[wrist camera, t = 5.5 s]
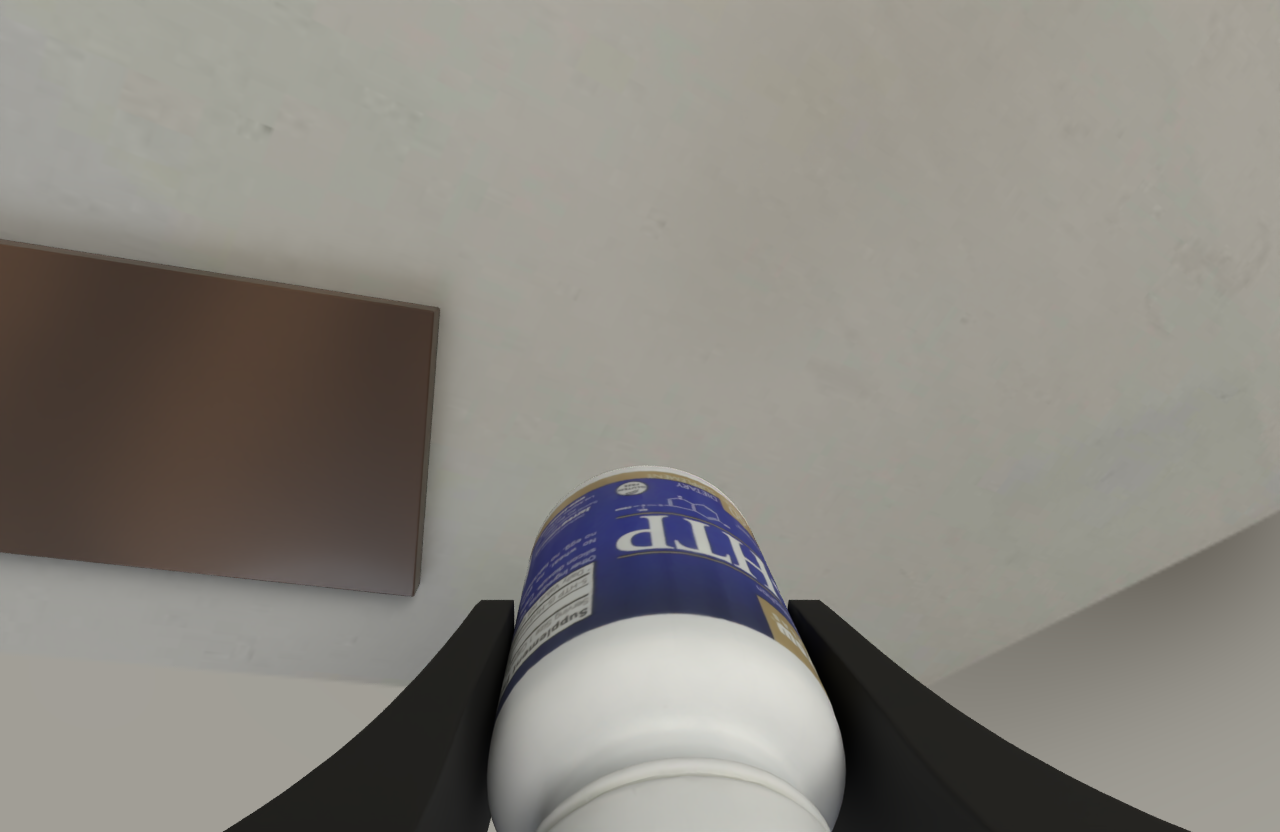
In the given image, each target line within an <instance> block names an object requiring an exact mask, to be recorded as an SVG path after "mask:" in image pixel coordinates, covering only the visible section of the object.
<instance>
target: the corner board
mask: <svg viewBox="0 0 1280 832" xmlns="http://www.w3.org/2000/svg"><path fill="white" fill-rule="evenodd" d="M439 316H440V308H438V307H432V306H426V305H419V304H413V303H406V302H400V301H394V300H387V299H381V298H374V297H368V296H362V295H355V294H349V293H342V292H336V291H329V290H323V289H317V288H310V287H304V286H297V285H291V284H285V283H278V282H272V281H265V280H259V279H253V278H246V277H240V276H233V275H227V274H220V273H214V272H208V271H201V270H195V269H188V268H182V267H176V266H169V265H163V264H156V263H150V262H144V261H137V260H131V259H124V258H118V257H111V256H105V255H99V254H92V253H86V252H79V251H73V250H67V249H60V248H54V247H47V246H41V245H35V244H28V243H22V242H15V241H9V240H2V239H0V552H2V553H11V554H21V555H30V556H39V557H48V558H58V559H67V560H76V561H86V562H95V563H104V564H114V565H123V566H132V567H141V568H151V569H160V570H169V571H179V572H188V573H197V574H207V575H216V576H225V577H234V578H244V579H253V580H262V581H272V582H281V583H290V584H300V585H309V586H318V587H327V588H337V589H346V590H355V591H365V592H374V593H383V594H393V595H402V596H411V597H413V596H414V595H415V593H416V591H417V589H418V586H419V584H420V573H421V559H422V546H423V532H424V519H425V505H426V492H427V478H428V465H429V451H430V437H431V424H432V410H433V397H434V383H435V370H436V356H437V343H438V329H439Z"/></svg>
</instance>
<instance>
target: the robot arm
mask: <svg viewBox="0 0 1280 832" xmlns="http://www.w3.org/2000/svg"><path fill="white" fill-rule="evenodd" d="M787 610H788V612H789V614H790V617H791V619H792V621H793V623H794V625H795V627H796V629H797V631H798V633H799V635H800V637H801V640H802V642H803V644H804V646H805V648H806V650H807V653H808V655H809V657H810V659H811V661H812V664H813V665H814V667H815V670H816V672H817V674H818V677H819V679H820V681H821V683H822V685H823V687H824V689H825V691H826V693H827V696H828V698H829V700H830V703H831V705H832V708H833V711H834V714H835V717H836V720H837V723H838V725H839V729H840V732H841V736H842V741H843V747H844V753H845V762H846V780H845V789H844V795H843V801H842V805H841V808H840V812H839V815H838V818H837V821H836V823H835V826H834V828H833V830H832V832H1191V831H1188V830H1186V829H1183V828H1181V827H1178V826H1176V825H1173V824H1171V823H1168V822H1166V821H1163V820H1161V819H1159V818H1156V817H1154V816H1152V815H1149V814H1147V813H1145V812H1143V811H1141V810H1139V809H1136V808H1134V807H1132V806H1130V805H1128V804H1126V803H1123V802H1121V801H1119V800H1117V799H1115V798H1113V797H1111V796H1109V795H1106V794H1104V793H1102V792H1100V791H1098V790H1096V789H1094V788H1092V787H1090V786H1088V785H1086V784H1084V783H1082V782H1080V781H1078V780H1076V779H1074V778H1072V777H1070V776H1068V775H1066V774H1065V773H1063V772H1061V771H1059V770H1057V769H1055V768H1054V767H1052V766H1050V765H1048V764H1046V763H1044V762H1043V761H1041V760H1039V759H1037V758H1035V757H1034V756H1031V755H1030V754H1028V753H1026V752H1024V751H1023V750H1021V749H1019V748H1018V747H1016V746H1014V745H1013V744H1011V743H1009V742H1007V741H1006V740H1004V739H1002V738H1001V737H999V736H998V735H996V734H995V733H993V732H991V731H989V730H988V729H987V728H985V727H984V726H982V725H980V724H979V723H977V722H976V721H974V720H973V719H971V718H969V717H968V716H966V715H965V714H963V713H962V712H960V711H959V710H957V709H956V708H954V707H953V706H952V705H950V704H949V703H947V702H946V701H945V700H943V699H942V698H941V697H939V696H938V695H936V694H935V693H934V692H932V691H931V690H930V689H928V688H927V687H926V686H924V685H923V684H921V683H920V682H919V681H917V680H916V679H915V678H914V677H912V676H911V675H910V674H908V673H907V672H906V671H905V670H903V669H902V668H901V667H899V666H898V665H897V664H896V663H894V662H893V661H892V660H891V659H890V658H888V657H887V656H886V655H885V654H883V653H882V652H881V651H880V650H879V649H877V648H876V647H875V646H874V645H873V644H871V643H870V642H869V641H868V640H867V639H865V638H864V637H863V636H862V635H861V634H860V633H858V632H857V631H856V630H855V629H854V628H853V627H851V626H850V625H849V624H848V623H847V622H845V621H844V620H843V619H842V618H841V617H840V616H838V615H837V614H836V613H835V612H834V611H832V610H831V609H830V608H829V607H828V606H826V605H825V604H824V603H822V602H821V601H820V600H789V602H788V609H787ZM513 634H514V600H481V601H480V602H479V603H478V604H477V605H475V607H474V608H473V609H472V611H471V612H470V613H469V615H468V616H467V617H466V619H465V620H464V621H463V623H462V624H461V625H460V627H459V628H458V629H457V630H456V632H455V633H454V634H453V635H452V636H451V638H450V639H449V640H448V641H447V643H446V644H445V645H444V646H443V647H442V649H441V650H440V651H439V652H438V653H437V654H436V655H435V657H434V658H433V659H432V660H431V661H430V662H429V664H428V665H427V666H426V667H425V668H424V669H423V670H422V672H421V673H420V674H419V675H418V676H417V677H416V678H415V679H414V680H413V681H412V682H411V683H410V684H409V685H408V686H407V687H406V688H405V689H404V690H403V691H402V692H401V693H400V694H399V696H398V697H397V698H396V699H395V700H394V701H393V702H392V703H391V704H390V705H389V706H388V707H387V708H386V709H385V710H384V711H383V712H382V713H380V714H379V715H378V716H377V717H376V718H375V719H374V720H373V721H372V722H371V723H370V724H369V725H368V726H366V727H365V728H364V729H363V730H362V731H361V732H360V733H359V734H357V735H356V736H355V737H354V738H353V739H352V740H351V741H349V742H348V743H347V744H346V745H345V746H344V747H342V748H341V749H340V750H339V751H337V752H336V753H335V754H334V755H332V756H331V757H330V758H329V759H327V760H326V761H325V762H323V763H322V764H321V765H319V766H318V767H317V768H315V769H314V770H313V771H311V772H310V773H309V774H307V775H306V776H305V777H303V778H302V779H301V780H300V781H298V782H297V783H295V784H294V785H293V786H291V787H290V788H289V789H287V790H286V791H284V792H283V793H282V794H280V795H279V796H277V797H276V798H274V799H273V800H271V801H270V802H269V803H267V804H265V805H264V806H262V807H261V808H259V809H258V810H257V811H255V812H253V813H252V814H250V815H249V816H247V817H245V818H244V819H242V820H241V821H239V822H238V823H236V824H234V825H233V826H231V827H230V828H228V829H227V830H225V831H223V832H487V831H488V827H489V823H490V819H491V813H490V808H489V802H488V791H487V767H488V757H489V750H490V743H491V738H492V732H493V727H494V721H495V716H496V712H497V707H498V703H499V697H500V693H501V689H502V684H503V679H504V674H505V669H506V666H507V661H508V656H509V652H510V648H511V643H512V638H513Z"/></svg>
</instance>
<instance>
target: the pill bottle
mask: <svg viewBox="0 0 1280 832" xmlns="http://www.w3.org/2000/svg"><path fill="white" fill-rule="evenodd" d="M845 780H846V762H845V753H844V747H843V741H842V736H841V732H840V729H839V725H838V723H837V720H836V717H835V714H834V711H833V708H832V705H831V703H830V700H829V698H828V696H827V693H826V691H825V689H824V687H823V685H822V683H821V681H820V679H819V677H818V674H817V672H816V670H815V667H814V665H813V664H812V661H811V659H810V657H809V655H808V653H807V650H806V648H805V646H804V644H803V642H802V640H801V637H800V635H799V633H798V631H797V629H796V627H795V625H794V623H793V621H792V619H791V617H790V614H789V612H788V610H787V608H786V606H785V603H784V601H783V599H782V597H781V595H780V593H779V590H778V588H777V586H776V583H775V581H774V579H773V577H772V575H771V573H770V570H769V568H768V566H767V564H766V562H765V560H764V557H763V555H762V553H761V551H760V549H759V546H758V544H757V542H756V540H755V538H754V535H753V533H752V532H751V530H750V528H749V525H748V523H747V522H746V520H745V518H744V517H743V515H742V514H741V512H740V511H739V510H738V508H737V507H736V506H735V505H734V503H733V502H732V501H731V500H730V499H729V498H728V497H727V496H726V495H725V494H723V493H722V492H721V491H720V490H719V489H717V488H716V487H715V486H713V485H712V484H710V483H709V482H707V481H705V480H704V479H702V478H700V477H698V476H695V475H693V474H690V473H687V472H684V471H681V470H678V469H674V468H669V467H661V466H633V467H626V468H621V469H616V470H612V471H609V472H606V473H603V474H600V475H598V476H596V477H594V478H592V479H590V480H588V481H586V482H584V483H582V484H581V485H579V486H578V487H576V488H575V489H573V490H572V491H571V492H570V493H568V494H567V495H566V496H565V497H564V498H563V499H562V500H561V501H560V502H559V503H558V504H557V505H556V506H555V507H554V508H553V510H552V511H551V512H550V513H549V515H548V516H547V518H546V519H545V521H544V523H543V524H542V526H541V528H540V530H539V532H538V535H537V537H536V540H535V543H534V546H533V549H532V553H531V556H530V560H529V566H528V570H527V574H526V578H525V582H524V587H523V591H522V596H521V601H520V606H519V610H518V614H517V619H516V624H515V629H514V634H513V638H512V643H511V648H510V652H509V656H508V661H507V666H506V669H505V674H504V679H503V684H502V689H501V693H500V697H499V703H498V707H497V712H496V716H495V721H494V727H493V732H492V738H491V743H490V750H489V757H488V767H487V791H488V802H489V808H490V813H491V817H492V821H493V823H494V826H495V829H496V831H497V832H832V830H833V828H834V826H835V823H836V821H837V818H838V815H839V812H840V808H841V805H842V801H843V795H844V789H845Z"/></svg>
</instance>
